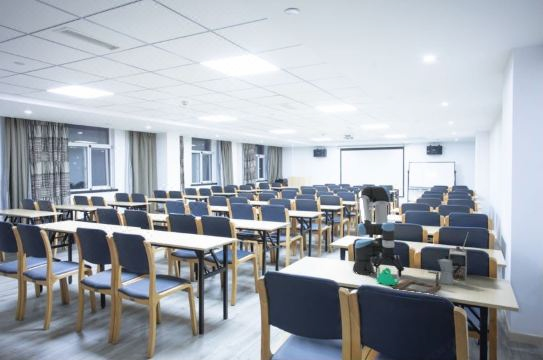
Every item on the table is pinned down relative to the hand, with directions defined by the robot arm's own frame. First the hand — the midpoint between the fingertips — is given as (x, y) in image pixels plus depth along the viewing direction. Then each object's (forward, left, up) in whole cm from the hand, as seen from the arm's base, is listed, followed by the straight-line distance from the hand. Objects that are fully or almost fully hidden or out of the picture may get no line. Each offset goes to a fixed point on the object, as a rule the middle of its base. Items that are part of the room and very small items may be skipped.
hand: (388, 279), depth 236 cm
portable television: (+30, +46, -3) cm, 55 cm away
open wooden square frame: (+17, +2, -3) cm, 18 cm away
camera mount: (0, 0, -3) cm, 3 cm away
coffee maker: (+29, +26, -3) cm, 39 cm away
